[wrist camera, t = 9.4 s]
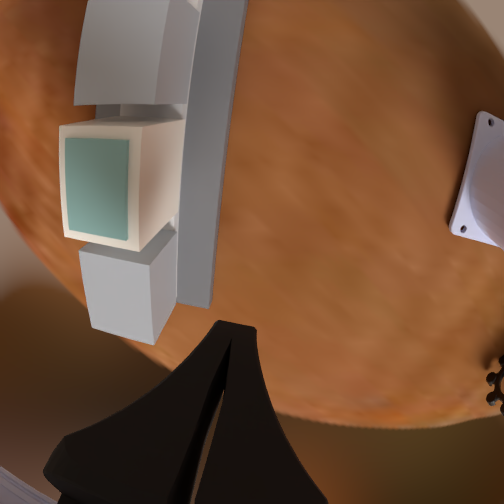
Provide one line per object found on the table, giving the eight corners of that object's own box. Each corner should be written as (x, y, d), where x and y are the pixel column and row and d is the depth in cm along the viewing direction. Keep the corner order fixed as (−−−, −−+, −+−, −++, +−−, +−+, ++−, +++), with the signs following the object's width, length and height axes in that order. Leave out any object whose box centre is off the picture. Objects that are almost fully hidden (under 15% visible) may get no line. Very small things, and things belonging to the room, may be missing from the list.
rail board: (251, -15, 12) (232, -62, 7) (212, 300, 21) (189, 360, 16) (121, -8, 13) (66, -34, 8) (108, 277, 22) (67, 324, 16)
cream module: (185, 119, 15) (139, 127, 10) (178, 211, 17) (137, 254, 12) (117, 116, 15) (56, 126, 10) (114, 202, 17) (62, 238, 12)
